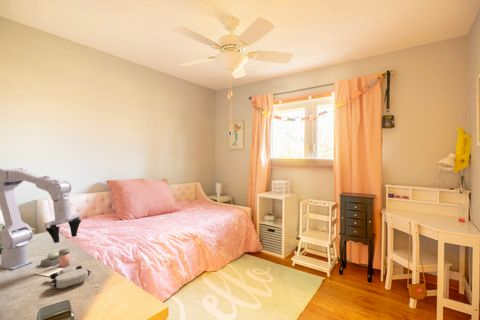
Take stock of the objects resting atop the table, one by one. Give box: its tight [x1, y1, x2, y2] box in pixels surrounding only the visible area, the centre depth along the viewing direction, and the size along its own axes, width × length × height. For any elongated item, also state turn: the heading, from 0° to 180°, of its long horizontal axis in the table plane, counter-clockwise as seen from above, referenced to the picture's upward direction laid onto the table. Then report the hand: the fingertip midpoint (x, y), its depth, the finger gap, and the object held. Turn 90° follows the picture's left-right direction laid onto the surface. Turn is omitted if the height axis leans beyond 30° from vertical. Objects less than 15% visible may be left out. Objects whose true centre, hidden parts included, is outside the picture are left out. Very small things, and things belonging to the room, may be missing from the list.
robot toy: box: [48, 265, 93, 289], centre depth 89 cm, size 12×4×15 cm
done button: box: [47, 251, 59, 260], centre depth 106 cm, size 5×5×3 cm
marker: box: [58, 248, 70, 269], centre depth 103 cm, size 4×4×7 cm
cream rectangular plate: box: [34, 266, 64, 278], centre depth 98 cm, size 8×6×1 cm
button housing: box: [40, 257, 59, 267], centre depth 106 cm, size 7×7×2 cm
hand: (65, 239), depth 102 cm, fingers open, 7 cm apart
